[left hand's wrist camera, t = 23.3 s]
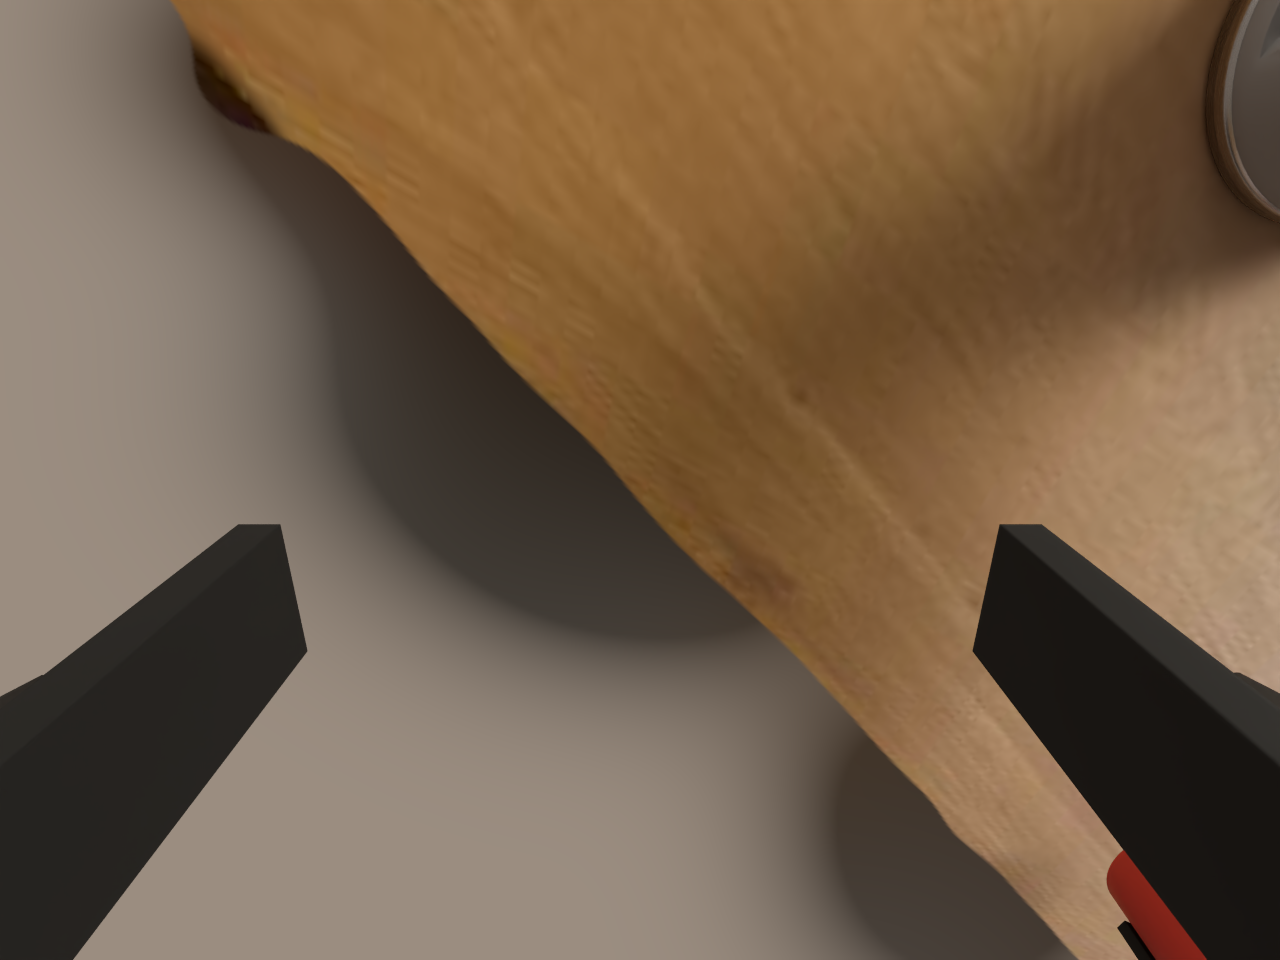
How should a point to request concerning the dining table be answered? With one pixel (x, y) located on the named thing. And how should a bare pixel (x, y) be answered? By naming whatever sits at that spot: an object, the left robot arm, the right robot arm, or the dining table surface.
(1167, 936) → the cylinder
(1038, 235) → the dining table surface
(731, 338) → the dining table surface
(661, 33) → the dining table surface
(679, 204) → the dining table surface
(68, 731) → the left robot arm
